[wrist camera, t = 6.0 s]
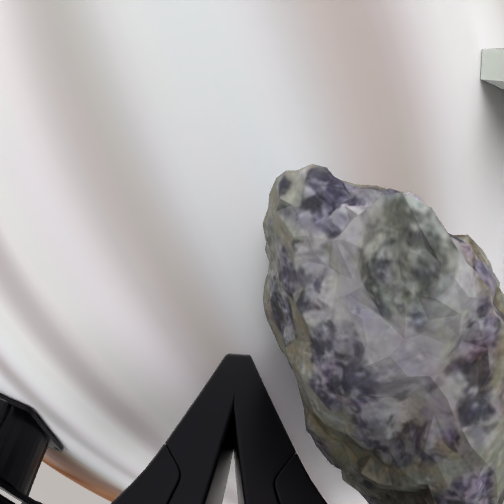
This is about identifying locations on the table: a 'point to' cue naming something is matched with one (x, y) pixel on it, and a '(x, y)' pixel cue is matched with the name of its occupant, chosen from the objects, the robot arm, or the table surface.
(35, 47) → the table surface
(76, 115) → the table surface
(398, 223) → the mineral rock
